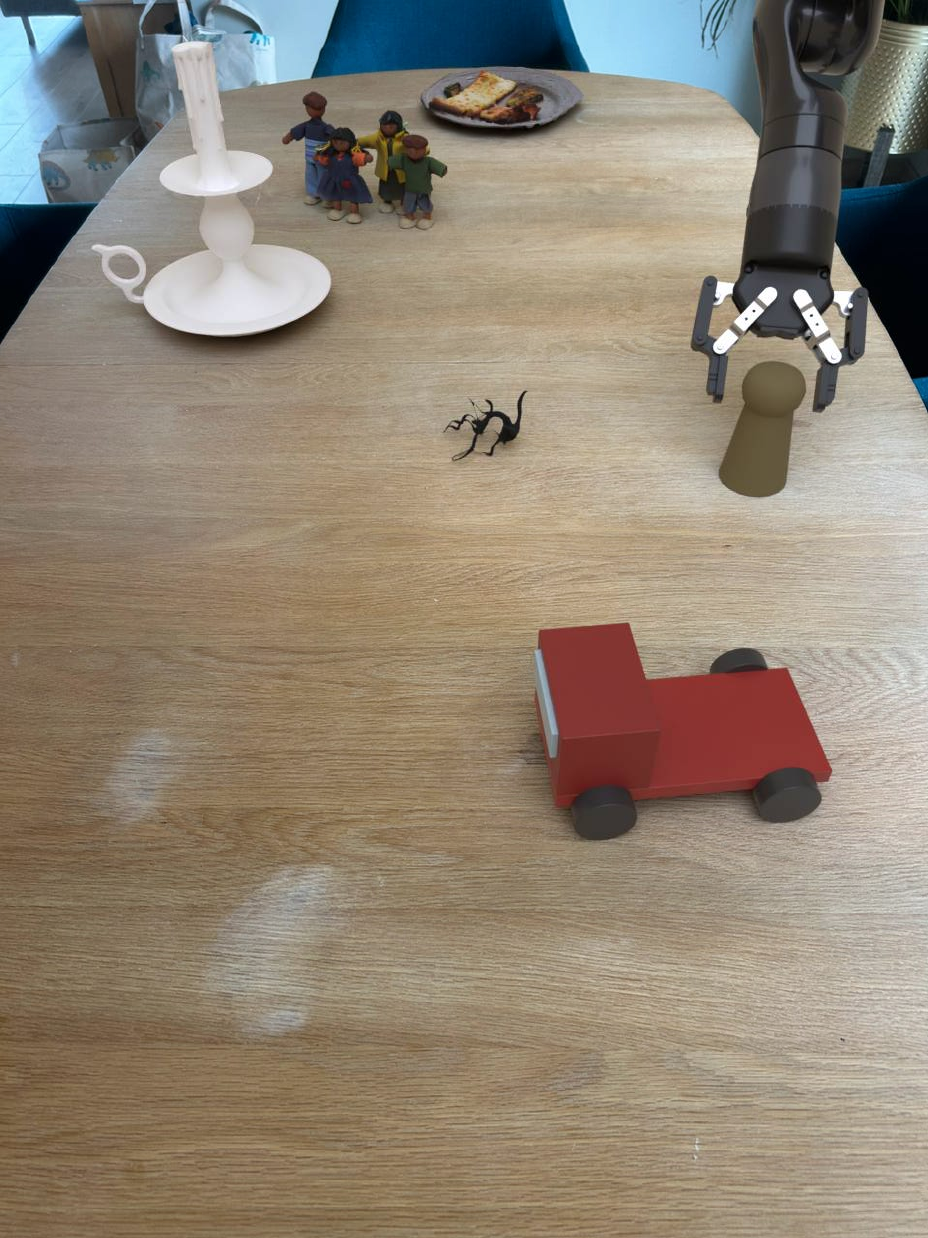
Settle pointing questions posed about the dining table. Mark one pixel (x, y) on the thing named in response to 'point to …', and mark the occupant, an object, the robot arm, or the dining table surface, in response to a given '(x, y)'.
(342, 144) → the doll family
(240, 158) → the candlestick
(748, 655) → the toy truck
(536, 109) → the food plate
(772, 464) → the brown peg doll
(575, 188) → the dining table surface
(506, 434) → the creature
